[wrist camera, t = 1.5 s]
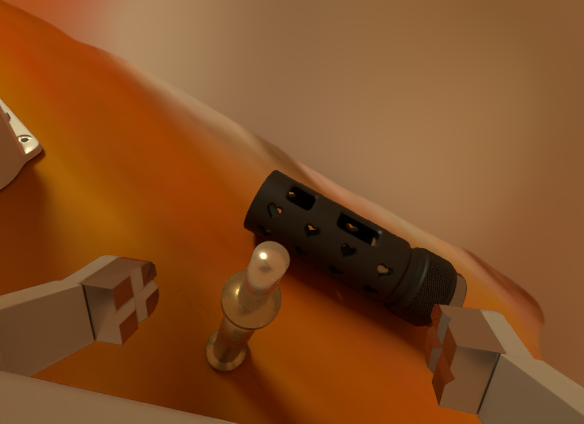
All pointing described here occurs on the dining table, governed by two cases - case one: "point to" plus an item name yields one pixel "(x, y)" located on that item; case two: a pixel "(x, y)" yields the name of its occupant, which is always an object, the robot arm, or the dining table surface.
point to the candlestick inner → (247, 305)
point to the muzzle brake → (354, 250)
